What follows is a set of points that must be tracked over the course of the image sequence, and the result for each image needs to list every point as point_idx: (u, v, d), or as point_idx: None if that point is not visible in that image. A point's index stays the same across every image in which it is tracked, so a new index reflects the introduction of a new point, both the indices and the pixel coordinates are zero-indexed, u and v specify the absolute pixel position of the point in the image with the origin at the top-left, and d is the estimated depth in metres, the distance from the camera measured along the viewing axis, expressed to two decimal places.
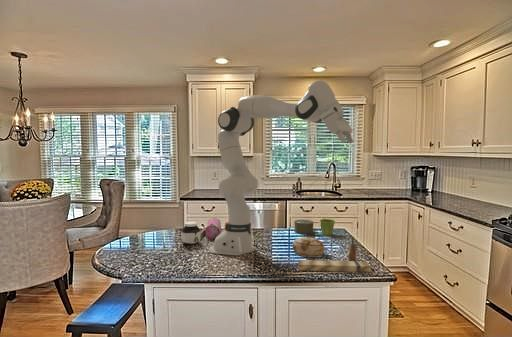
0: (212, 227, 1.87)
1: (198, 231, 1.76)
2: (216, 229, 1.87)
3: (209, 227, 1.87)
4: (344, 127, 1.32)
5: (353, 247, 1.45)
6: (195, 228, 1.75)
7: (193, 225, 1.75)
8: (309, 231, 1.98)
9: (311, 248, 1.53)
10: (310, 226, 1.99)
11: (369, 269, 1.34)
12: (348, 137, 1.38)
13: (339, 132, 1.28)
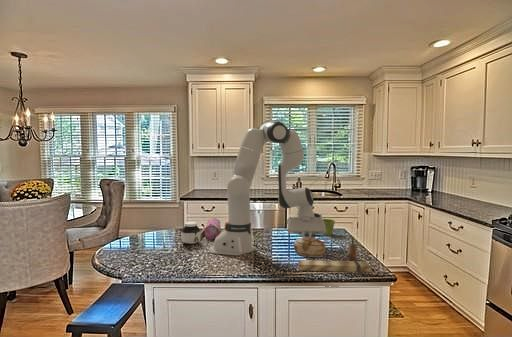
0: (211, 227, 1.87)
1: (198, 231, 1.76)
2: (215, 229, 1.87)
3: (208, 227, 1.87)
4: None
5: (353, 247, 1.45)
6: (195, 228, 1.75)
7: (193, 225, 1.75)
8: None
9: (312, 248, 1.53)
10: None
11: (369, 269, 1.34)
12: None
13: None
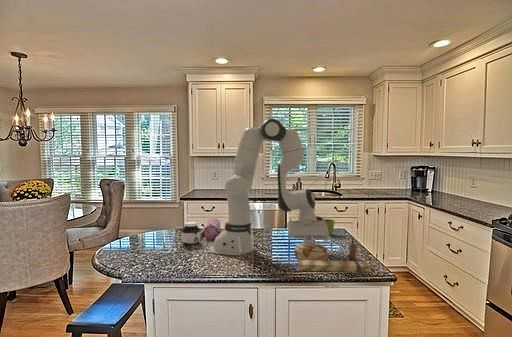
0: (211, 227, 1.87)
1: (198, 231, 1.76)
2: (215, 229, 1.87)
3: (208, 227, 1.87)
4: None
5: (353, 247, 1.45)
6: (195, 228, 1.75)
7: (193, 225, 1.75)
8: None
9: (313, 254, 1.44)
10: None
11: (369, 269, 1.34)
12: None
13: None
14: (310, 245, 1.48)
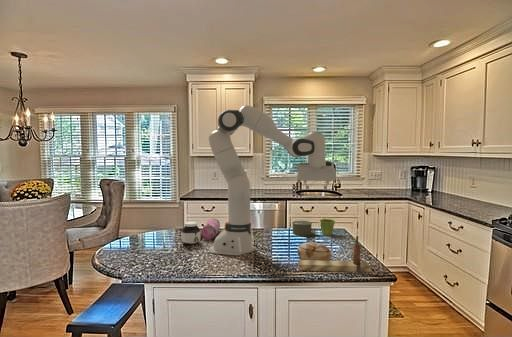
0: (208, 228, 1.86)
1: (198, 231, 1.76)
2: (212, 229, 1.86)
3: (205, 227, 1.86)
4: None
5: (358, 247, 1.36)
6: (195, 228, 1.75)
7: (193, 225, 1.75)
8: (306, 232, 1.95)
9: (317, 255, 1.44)
10: (308, 227, 1.95)
11: (369, 269, 1.34)
12: None
13: None
14: (313, 245, 1.47)
